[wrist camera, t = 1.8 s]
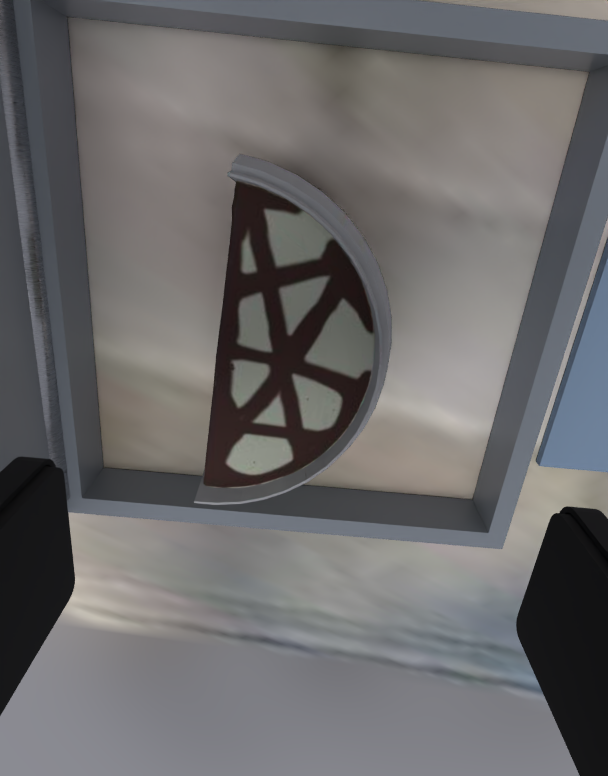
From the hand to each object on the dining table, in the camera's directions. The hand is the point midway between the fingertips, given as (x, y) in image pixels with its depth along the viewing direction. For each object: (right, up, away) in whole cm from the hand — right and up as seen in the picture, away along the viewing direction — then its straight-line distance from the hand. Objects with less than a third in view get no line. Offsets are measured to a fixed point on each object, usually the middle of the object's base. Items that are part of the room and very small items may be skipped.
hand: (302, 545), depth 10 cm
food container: (0, +7, +16) cm, 18 cm away
